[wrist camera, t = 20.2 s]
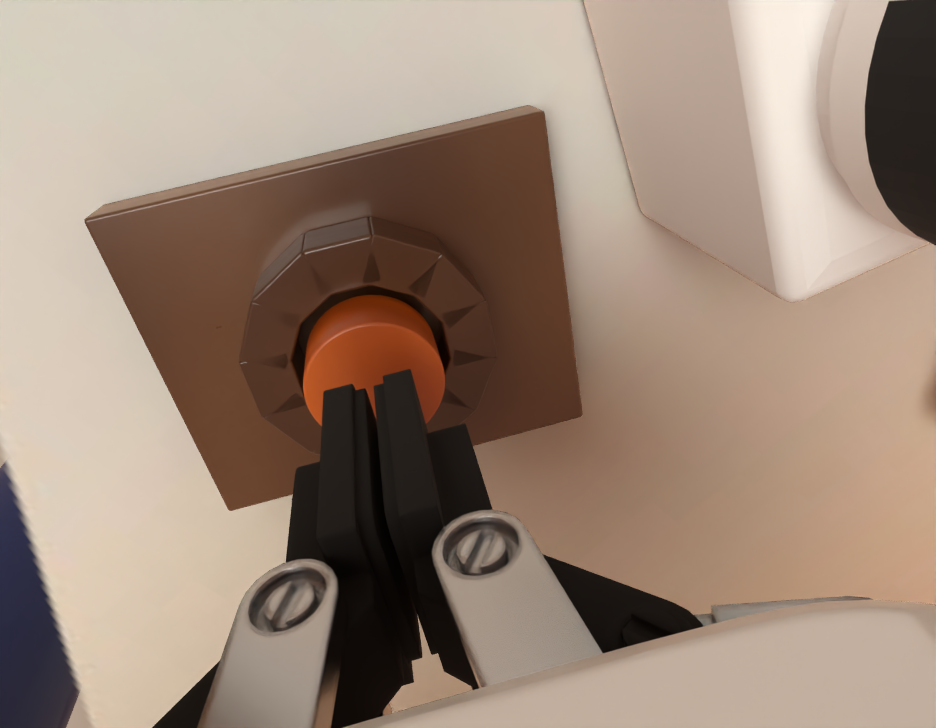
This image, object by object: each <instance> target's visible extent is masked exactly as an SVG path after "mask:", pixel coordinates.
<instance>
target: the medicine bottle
mask: <svg viewBox="0 0 936 728" xmlns="http://www.w3.org/2000/svg"><path fill="white" fill-rule="evenodd" d="M583 1H584V4H585V8H586V12H587V15H588V19H589V23H590V26H591V30H592V34H593V38H594V41H595V45H596V49H597V52H598V56H599V60H600V63H601V67H602V71H603V74H604V78H605V82H606V86H607V89H608V93H609V97H610V100H611V104H612V108H613V111H614V115H615V119H616V122H617V126H618V130H619V134H620V137H621V141H622V145H623V148H624V152H625V156H626V159H627V163H628V167H629V170H630V174H631V178H632V182H633V185H634V189H635V193H636V196H637V200H638V204H639V207H640V209H641V211H642V213H643V214H644V215H645V216H647V217H648V218H650V219H652V220H653V221H655V222H656V223H658V224H660V225H661V226H663V227H665V228H666V229H668V230H669V231H671V232H673V233H674V234H676V235H678V236H679V237H681V238H683V239H684V240H686V241H687V242H689V243H691V244H692V245H694V246H696V247H697V248H699V249H700V250H702V251H704V252H705V253H707V254H709V255H710V256H712V257H713V258H715V259H717V260H718V261H720V262H722V263H723V264H725V265H727V266H728V267H730V268H731V269H733V270H735V271H736V272H738V273H740V274H741V275H743V276H744V277H746V278H748V279H749V280H751V281H753V282H754V283H756V284H758V285H759V286H761V287H762V288H764V289H766V290H767V291H769V292H771V293H772V294H774V295H775V296H777V297H779V298H780V299H783V300H786V301H789V302H799V301H803V300H805V299H808V298H810V297H812V296H814V295H816V294H819V293H821V292H823V291H825V290H828V289H830V288H832V287H834V286H836V285H839V284H841V283H843V282H845V281H848V280H850V279H852V278H854V277H856V276H859V275H861V274H863V273H865V272H868V271H870V270H872V269H874V268H876V267H879V266H881V265H883V264H885V263H888V262H890V261H892V260H894V259H896V258H899V257H901V256H903V255H905V254H908V253H910V252H912V251H914V250H916V249H919V248H921V247H923V246H925V245H928V244H930V243H931V244H934V245H936V0H583Z"/></svg>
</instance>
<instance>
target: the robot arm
mask: <svg viewBox="0 0 936 728" xmlns="http://www.w3.org/2000/svg"><path fill="white" fill-rule="evenodd" d="M374 398H375V409H376V418H375V415H374V412H373V408H372V405H371V402H370V399H369V396H368V393H367V391H366V389H365V388H363V389H359V390H356V389H355V387H354V385H353V384H349V385H345V386H341V387H337V388H333V389H329V390H325V391H324V393H323V410H322V430H321V450H320V461H319V462H315V463H312V464H308V465H304V466H300V467H298V468H297V469H296V472H295V478H294V488H293V498H292V507H291V517H290V527H289V536H288V546H287V556H286V563H283V564H281V565H279V566H277V567H275V568H273V569H271V570H269V571H268V572H267V573H265V574H264V575H263V576H262V577H260V578H259V579H258V580H256V581H255V583H254V584H253V585H252V586H251V587H250V588H249V590H248V591H247V592H246V593H245V595H244V597H243V599H242V601H241V603H240V605H239V608H238V611H237V614H236V616H235V619H234V622H233V625H232V628H231V631H230V634H229V637H228V640H227V642H226V645H225V648H224V651H223V654H222V657H221V660H220V661H219V662H218V663H217V664H216V665H215V666H214V667H213V668H212V669H211V670H210V671H209V672H208V673H207V674H206V675H205V676H204V677H203V678H202V679H201V680H200V681H199V682H198V683H197V684H196V685H195V686H194V687H193V688H192V689H191V690H190V691H189V692H188V693H187V694H186V695H185V696H184V697H183V698H182V699H181V700H180V701H179V702H178V703H177V704H176V705H175V706H174V707H173V708H172V709H171V710H170V711H169V712H168V713H167V714H166V715H165V716H163V717H162V718H161V719H160V720H159V721H158V722H157V723H156V724H155V725H154V726H153V727H152V728H936V605H933V604H926V603H919V602H903V601H887V600H873V599H871V598H865V597H852V596H844V597H830V598H815V599H801V600H786V601H772V602H757V603H743V604H729V605H714V606H711V614H701V615H693V614H692V613H690V612H689V611H688V610H686V609H684V608H682V607H681V606H679V605H677V604H675V603H673V602H670V601H667V600H665V599H662V598H659V597H657V596H654V595H651V594H649V593H646V592H643V591H640V590H638V589H635V588H632V587H630V586H627V585H624V584H622V583H619V582H616V581H613V580H611V579H608V578H605V577H603V576H600V575H597V574H594V573H592V572H589V571H586V570H584V569H581V568H578V567H576V566H573V565H570V564H567V563H565V562H562V561H559V560H557V559H554V558H551V557H548V556H546V555H543V554H542V553H541V551H540V550H539V548H538V547H537V545H536V543H535V542H534V540H533V538H532V537H531V535H530V533H529V532H528V530H527V529H526V527H525V526H524V525H523V524H522V523H521V522H520V520H519V519H518V518H516V517H514V516H512V515H510V514H508V513H506V512H501V511H496V510H492V507H491V503H490V500H489V497H488V494H487V490H486V487H485V484H484V481H483V477H482V474H481V471H480V468H479V465H478V461H477V458H476V455H475V452H474V448H473V445H472V442H471V439H470V436H469V432H468V429H467V426H466V424H465V423H464V424H460V425H456V426H453V427H449V428H445V429H441V430H437V431H434V432H430V433H428V430H427V426H426V423H425V419H424V415H423V412H422V408H421V404H420V401H419V397H418V394H417V390H416V386H415V383H414V379H413V375H412V372H411V369H407V370H403V371H399V372H396V373H392V374H388V375H384V376H383V384H379V385H375V386H374ZM417 614H418V616H417ZM418 617H419V620H420V623H421V626H422V629H423V632H424V634H425V637H426V640H427V643H428V646H429V649H430V652H431V654H432V655H433V654H437V653H438V654H439V657H440V660H441V663H442V666H443V669H444V671H445V672H446V673H448V674H450V675H452V676H454V677H456V678H457V679H459V680H461V681H463V682H465V683H467V684H468V685H470V686H471V687H472V691H468V692H465V693H461V694H458V695H454V696H451V697H447V698H444V699H440V700H437V701H433V702H430V703H426V704H423V705H419V706H416V707H412V708H409V709H405V710H402V711H398V712H395V713H392V708H391V706H390V704H389V702H390V701H391V699H392V698H393V697H394V696H395V694H396V693H397V692H398V690H399V689H400V688H401V686H403V685H406V684H410V683H413V682H414V680H413V671H412V662H411V661H412V660H416V659H419V658H422V647H421V640H420V632H419V624H418Z"/></svg>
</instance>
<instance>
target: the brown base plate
mask: <svg viewBox="0 0 936 728" xmlns="http://www.w3.org/2000/svg"><path fill="white" fill-rule="evenodd" d="M85 224H86V226H87V228H88V230H89V232H90V234H91V236H92V238H93V240H94V242H95V244H96V246H97V248H98V250H99V252H100V254H101V256H102V258H103V260H104V262H105V264H106V266H107V268H108V270H109V272H110V274H111V276H112V278H113V280H114V282H115V284H116V286H117V288H118V290H119V292H120V294H121V296H122V298H123V300H124V302H125V304H126V306H127V308H128V310H129V312H130V314H131V316H132V318H133V320H134V322H135V324H136V326H137V328H138V330H139V332H140V334H141V336H142V338H143V340H144V342H145V344H146V346H147V348H148V350H149V352H150V354H151V356H152V358H153V360H154V362H155V364H156V366H157V368H158V370H159V372H160V374H161V376H162V378H163V380H164V382H165V384H166V386H167V388H168V390H169V392H170V394H171V396H172V398H173V400H174V402H175V404H176V406H177V408H178V410H179V412H180V414H181V416H182V418H183V420H184V422H185V424H186V426H187V428H188V430H189V432H190V434H191V436H192V438H193V440H194V442H195V444H196V446H197V448H198V450H199V452H200V454H201V456H202V458H203V460H204V462H205V464H206V466H207V468H208V470H209V472H210V474H211V476H212V478H213V480H214V482H215V484H216V486H217V488H218V490H219V492H220V494H221V496H222V498H223V500H224V502H225V504H226V506H227V508H228V510H229V511H232V510H236V509H240V508H243V507H247V506H251V505H255V504H258V503H262V502H266V501H270V500H273V499H277V498H281V497H284V496H288V495H292V494H293V488H294V478H295V472H296V469H297V468H298V467H300V466H304V465H308V464H312V463H315V462H319V461H320V450H321V430H322V426H321V425H320V424H319V423H318V422H317V421H316V420H315V419H314V417H313V416H312V414H311V413H310V411H309V409H308V406H307V404H306V401H305V398H304V392H303V377H304V367H305V356H306V347H307V342H308V338H309V335H310V333H311V331H312V329H313V327H314V325H315V324H316V322H317V321H318V319H319V318H320V317H321V316H322V315H323V314H324V313H325V312H326V311H328V310H329V309H330V308H331V307H333V306H335V305H336V304H338V303H340V302H342V301H344V300H346V299H350V298H353V297H357V296H362V295H382V296H388V297H392V298H395V299H398V300H400V301H402V302H405V303H406V304H408V305H410V306H411V307H413V308H414V309H415V310H416V311H418V312H419V313H420V314H421V315H422V316H423V318H424V319H425V320H426V322H427V323H428V325H429V326H430V328H431V330H432V333H433V336H434V339H435V342H436V345H437V349H438V352H439V355H440V358H441V361H442V365H443V368H444V373H445V389H444V394H443V398H442V401H441V403H440V405H439V407H438V409H437V411H436V412H435V414H434V415H433V417H432V418H431V419H430V420H429V422H428V423H426V426H427V430H428V433H430V432H434V431H437V430H441V429H445V428H449V427H453V426H456V425H460V424H464V423H465V424H466V426H467V429H468V432H469V436H470V439H471V442H472V445H473V446H474V445H478V444H481V443H485V442H489V441H493V440H496V439H500V438H504V437H508V436H511V435H515V434H519V433H522V432H526V431H530V430H534V429H537V428H541V427H545V426H548V425H552V424H556V423H560V422H563V421H567V420H571V419H574V418H578V417H581V416H582V406H581V398H580V390H579V382H578V374H577V366H576V358H575V350H574V342H573V334H572V326H571V318H570V310H569V302H568V295H567V287H566V279H565V271H564V263H563V255H562V247H561V239H560V231H559V223H558V215H557V207H556V199H555V191H554V183H553V176H552V168H551V160H550V152H549V144H548V136H547V128H546V120H545V113H544V112H543V111H541V110H539V109H537V108H534V107H532V106H528V105H527V106H523V107H518V108H514V109H510V110H506V111H501V112H497V113H493V114H488V115H484V116H480V117H476V118H471V119H467V120H463V121H459V122H454V123H450V124H446V125H442V126H437V127H433V128H429V129H425V130H420V131H416V132H412V133H408V134H403V135H399V136H395V137H391V138H386V139H382V140H378V141H373V142H369V143H365V144H361V145H356V146H352V147H348V148H344V149H339V150H335V151H331V152H327V153H322V154H318V155H314V156H310V157H305V158H301V159H297V160H293V161H288V162H284V163H280V164H276V165H271V166H267V167H263V168H258V169H254V170H250V171H246V172H241V173H237V174H233V175H229V176H224V177H220V178H216V179H212V180H207V181H203V182H199V183H195V184H190V185H186V186H182V187H178V188H173V189H169V190H165V191H161V192H156V193H152V194H148V195H143V196H139V197H135V198H131V199H126V200H122V201H118V202H114V203H109V204H105V205H103V206H102V207H100V208H99V209H98V210H96V211H95V212H94V213H92V214H91V215H90V216H88V217H87V218H86V219H85Z"/></svg>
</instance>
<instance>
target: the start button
mask: <svg viewBox="0 0 936 728" xmlns="http://www.w3.org/2000/svg"><path fill="white" fill-rule="evenodd" d="M407 369H411V372H412V375H413V379H414V383H415V386H416V390H417V394H418V397H419V401H420V404H421V408H422V412H423V415H424V419H425V423H428V422H429V420H430V419H431V418H432V417H433V415H434V414H435V412H436V411H437V409H438V407H439V405H440V403H441V401H442V398H443V394H444V389H445V373H444V368H443V365H442V361H441V358H440V355H439V352H438V349H437V345H436V342H435V339H434V336H433V333H432V330H431V328H430V326H429V325H428V323H427V322H426V320H425V319H424V318H423V316H422V315H421V314H420V313H419V312H418V311H416V310H415V309H414V308H413V307H411V306H410V305H408V304H406V303H405V302H402V301H400V300H398V299H395V298H392V297H388V296H382V295H362V296H357V297H353V298H350V299H346V300H344V301H342V302H340V303H338V304H336V305H335V306H333V307H331V308H330V309H329V310H328V311H326V312H325V313H324V314H323V315H322V316H321V317H320V318H319V319H318V321H317V322H316V324H315V325H314V327H313V329H312V331H311V333H310V335H309V338H308V342H307V347H306V356H305V367H304V377H303V392H304V398H305V401H306V404H307V406H308V409H309V411H310V413H311V414H312V416H313V417H314V419H315V420H316V421H317V422H318V423H319V424H320V425H321V426H322V410H323V393H324V391H325V390H329V389H333V388H337V387H341V386H345V385H349V384H353V385H354V387H355V389H356V390H359V389H363V388H365V389H366V391H367V393H368V396H369V399H370V402H371V405H372V408H373V412H374V415H375V418H376V409H375V398H374V386H375V385H379V384H383V376H384V375H388V374H392V373H396V372H399V371H403V370H407Z"/></svg>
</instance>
